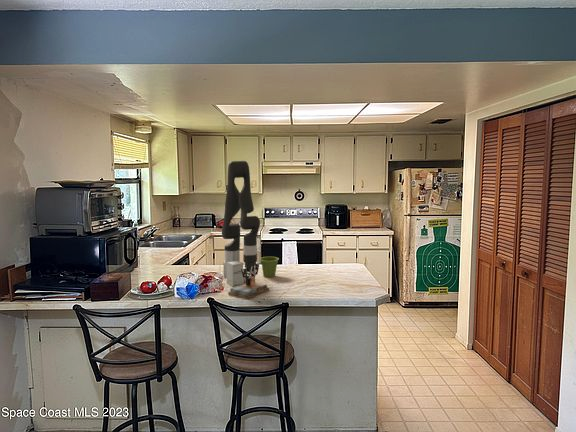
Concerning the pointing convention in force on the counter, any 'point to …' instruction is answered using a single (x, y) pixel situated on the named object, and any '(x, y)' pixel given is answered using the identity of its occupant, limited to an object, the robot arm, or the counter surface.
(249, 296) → the ticket board
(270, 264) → the plant pot
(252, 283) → the stub
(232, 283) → the supplement box
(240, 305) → the counter surface
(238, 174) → the robot arm
